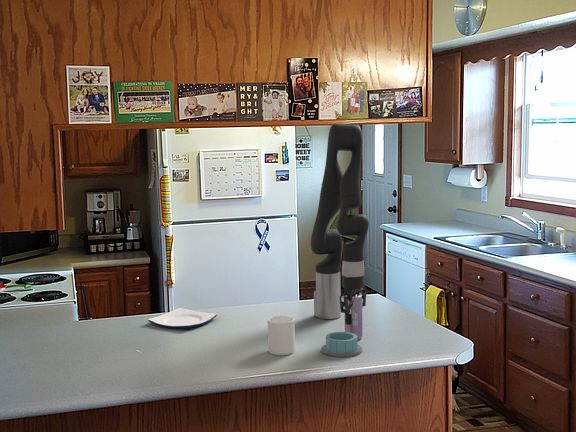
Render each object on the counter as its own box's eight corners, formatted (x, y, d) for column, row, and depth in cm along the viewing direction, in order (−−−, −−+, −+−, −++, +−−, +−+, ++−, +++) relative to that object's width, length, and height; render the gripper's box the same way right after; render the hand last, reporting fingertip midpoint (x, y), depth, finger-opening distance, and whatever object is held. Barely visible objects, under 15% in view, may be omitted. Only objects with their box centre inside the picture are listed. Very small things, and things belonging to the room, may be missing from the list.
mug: (290, 343, 239) (290, 312, 237) (297, 355, 227) (296, 322, 225) (265, 345, 237) (264, 313, 236) (270, 356, 225) (269, 323, 224)
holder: (313, 352, 229) (313, 338, 228) (335, 342, 239) (335, 328, 238) (348, 360, 221) (348, 345, 220) (369, 349, 231) (369, 334, 231)
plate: (221, 320, 270) (221, 313, 269) (187, 334, 252) (187, 326, 252) (179, 313, 280) (179, 306, 280) (143, 326, 263) (143, 319, 263)
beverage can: (362, 335, 246) (362, 292, 244) (362, 340, 240) (362, 297, 238) (345, 335, 247) (344, 292, 245) (344, 340, 241) (344, 296, 239)
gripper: (354, 268, 248) (354, 315, 251) (332, 276, 237) (332, 325, 239) (373, 270, 244) (373, 318, 246) (351, 278, 232) (351, 329, 235)
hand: (353, 321), depth 243 cm, fingers closed on beverage can, 6 cm apart
